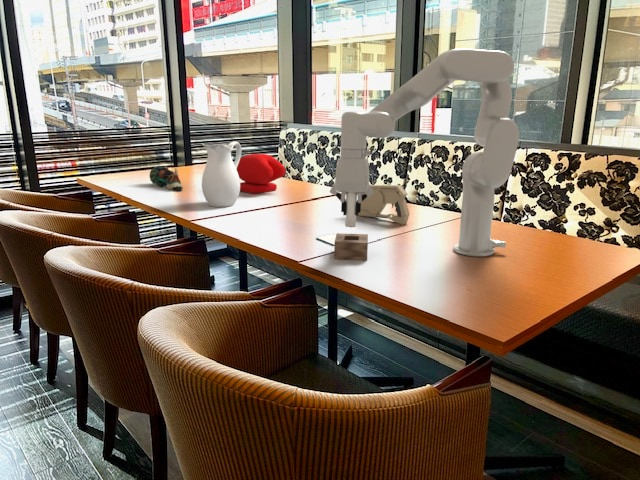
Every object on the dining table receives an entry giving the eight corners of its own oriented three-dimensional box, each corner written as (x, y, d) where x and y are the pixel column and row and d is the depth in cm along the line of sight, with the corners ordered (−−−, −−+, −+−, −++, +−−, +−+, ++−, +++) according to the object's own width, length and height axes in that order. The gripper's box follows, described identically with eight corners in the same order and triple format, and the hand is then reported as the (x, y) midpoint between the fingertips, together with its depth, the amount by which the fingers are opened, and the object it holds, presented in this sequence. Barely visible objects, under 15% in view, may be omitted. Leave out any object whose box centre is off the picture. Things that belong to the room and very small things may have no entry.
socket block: (367, 250, 166) (367, 234, 165) (367, 260, 157) (367, 242, 155) (336, 249, 167) (336, 233, 166) (334, 259, 158) (334, 241, 156)
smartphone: (362, 247, 172) (333, 236, 184) (362, 244, 172) (333, 233, 184) (343, 251, 168) (315, 239, 180) (343, 248, 167) (315, 237, 180)
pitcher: (224, 210, 224) (221, 145, 216) (195, 205, 232) (190, 143, 224) (257, 200, 243) (255, 140, 236) (229, 197, 252) (226, 139, 244)
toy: (264, 158, 246) (228, 151, 267) (264, 198, 252) (229, 188, 273) (289, 155, 257) (252, 149, 277) (289, 194, 263) (253, 185, 283)
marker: (355, 224, 161) (357, 186, 158) (355, 227, 158) (357, 188, 154) (345, 224, 161) (346, 186, 158) (344, 227, 158) (346, 188, 155)
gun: (410, 223, 201) (409, 185, 198) (405, 225, 198) (404, 186, 195) (361, 219, 217) (359, 183, 214) (356, 220, 215) (354, 184, 212)
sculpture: (170, 159, 288) (194, 171, 267) (167, 182, 292) (191, 196, 270) (146, 158, 279) (169, 170, 258) (144, 182, 283) (167, 196, 262)
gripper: (380, 154, 156) (377, 213, 161) (326, 152, 158) (325, 211, 163) (381, 156, 149) (377, 218, 154) (324, 155, 151) (323, 216, 156)
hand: (350, 214), depth 158 cm, fingers closed on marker, 3 cm apart
